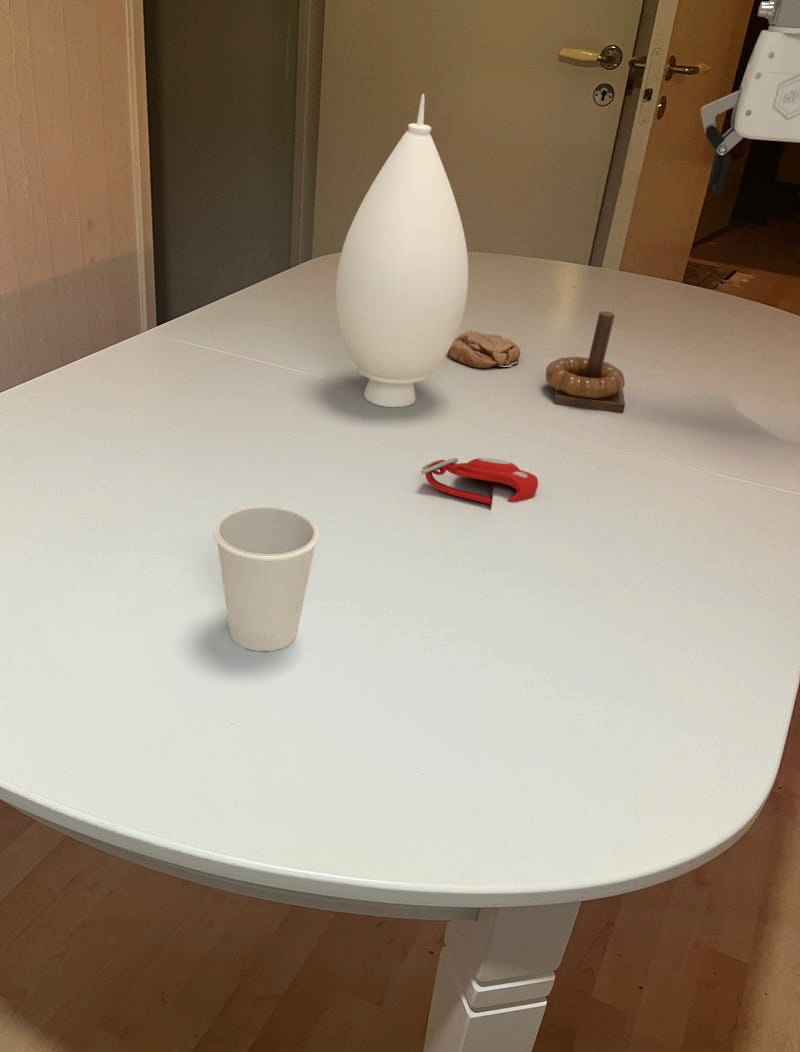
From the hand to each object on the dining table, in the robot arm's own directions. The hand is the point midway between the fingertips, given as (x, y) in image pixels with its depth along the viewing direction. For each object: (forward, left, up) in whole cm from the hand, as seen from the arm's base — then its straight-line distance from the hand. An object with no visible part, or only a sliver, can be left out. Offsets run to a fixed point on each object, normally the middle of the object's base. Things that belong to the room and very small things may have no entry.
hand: (760, 195), depth 109 cm
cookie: (+28, -15, -28) cm, 42 cm away
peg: (+13, -5, -28) cm, 31 cm away
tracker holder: (+26, +28, -28) cm, 48 cm away
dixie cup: (+42, +61, -28) cm, 80 cm away
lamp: (+39, +5, -28) cm, 48 cm away
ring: (+14, -5, -25) cm, 29 cm away
